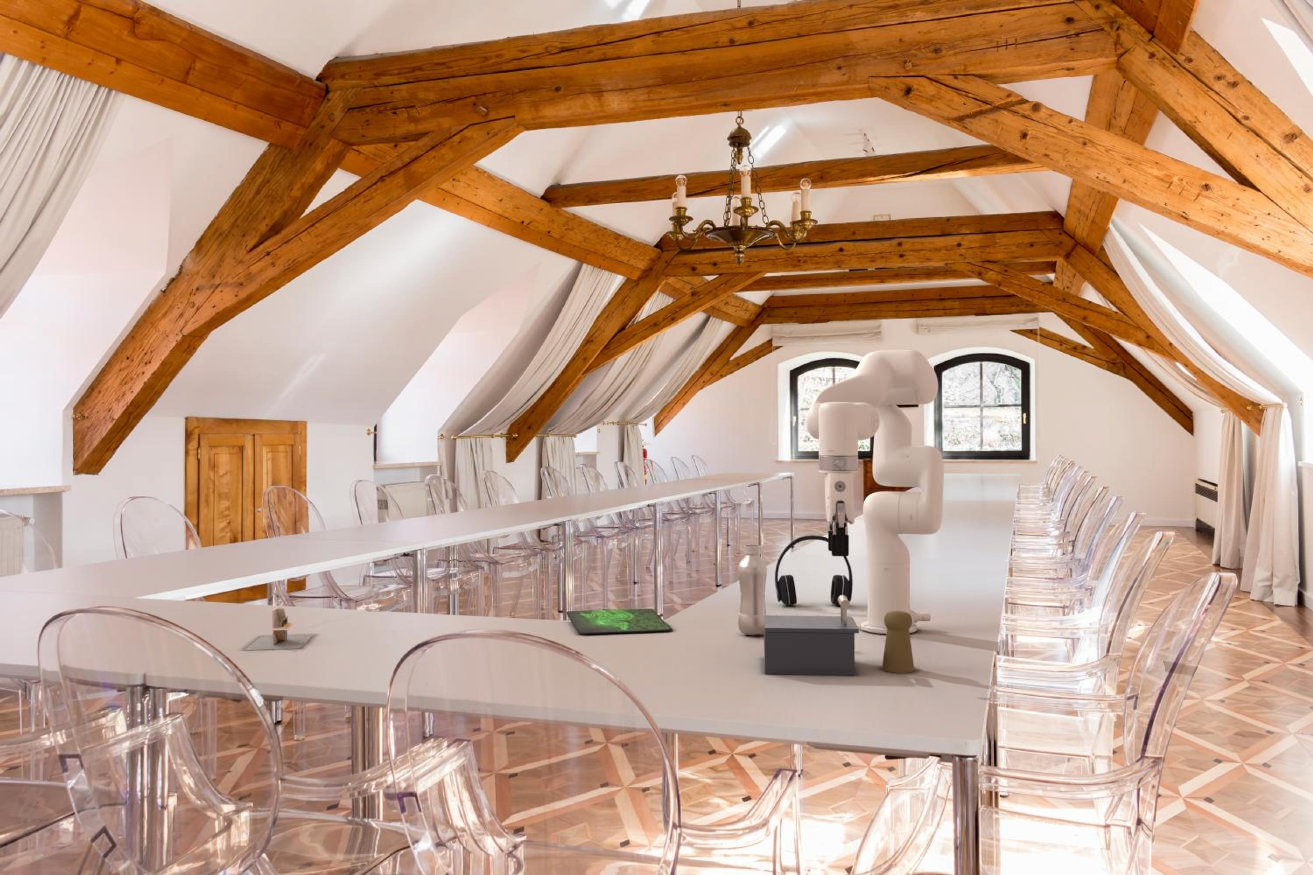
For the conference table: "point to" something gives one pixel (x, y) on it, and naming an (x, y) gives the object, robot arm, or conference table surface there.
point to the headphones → (787, 585)
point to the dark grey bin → (809, 653)
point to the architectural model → (279, 634)
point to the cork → (898, 643)
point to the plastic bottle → (752, 591)
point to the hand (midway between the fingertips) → (838, 553)
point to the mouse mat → (617, 621)
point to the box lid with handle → (813, 622)
